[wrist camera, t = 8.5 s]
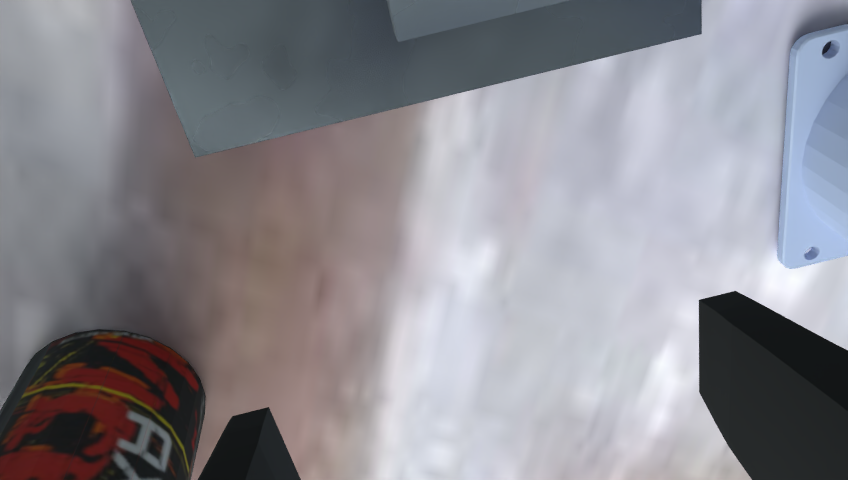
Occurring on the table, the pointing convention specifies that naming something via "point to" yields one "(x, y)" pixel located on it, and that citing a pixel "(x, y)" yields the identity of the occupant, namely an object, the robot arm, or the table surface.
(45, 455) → the deodorant
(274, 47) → the base plate with holder
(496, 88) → the table surface
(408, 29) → the column
